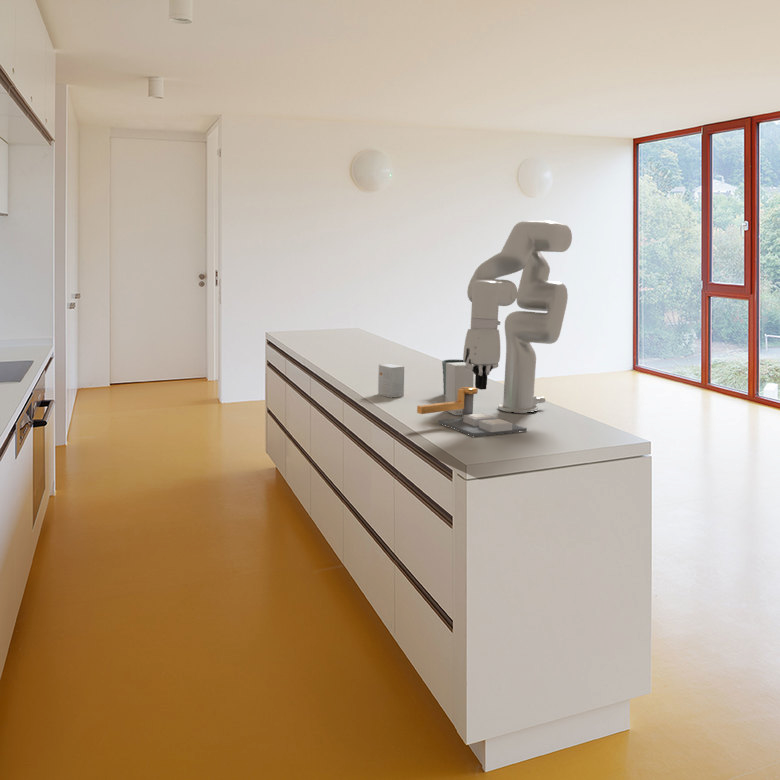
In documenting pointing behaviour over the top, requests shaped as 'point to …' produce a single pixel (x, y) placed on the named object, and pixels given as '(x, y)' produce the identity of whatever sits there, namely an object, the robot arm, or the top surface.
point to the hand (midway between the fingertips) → (480, 388)
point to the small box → (391, 380)
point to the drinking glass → (445, 370)
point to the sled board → (476, 428)
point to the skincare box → (457, 382)
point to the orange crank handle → (448, 405)
